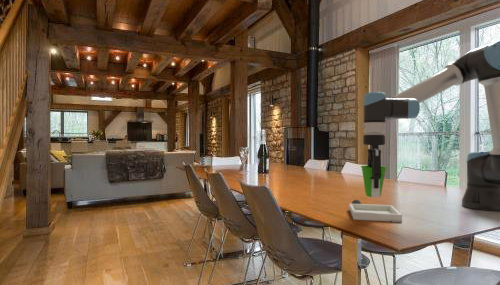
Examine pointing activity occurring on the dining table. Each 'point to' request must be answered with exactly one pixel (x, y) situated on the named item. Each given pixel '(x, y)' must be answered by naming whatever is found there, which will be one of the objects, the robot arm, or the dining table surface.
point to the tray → (375, 212)
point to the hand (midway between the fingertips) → (373, 194)
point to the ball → (356, 202)
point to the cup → (368, 182)
